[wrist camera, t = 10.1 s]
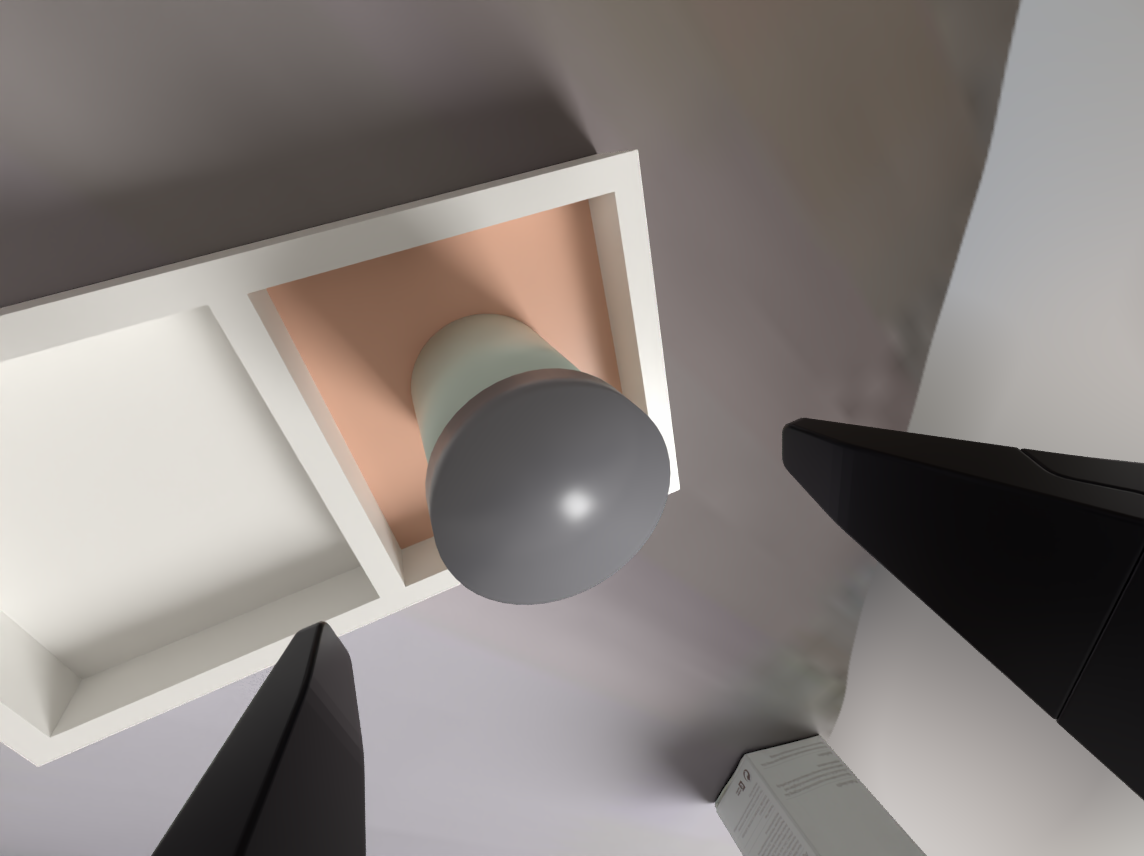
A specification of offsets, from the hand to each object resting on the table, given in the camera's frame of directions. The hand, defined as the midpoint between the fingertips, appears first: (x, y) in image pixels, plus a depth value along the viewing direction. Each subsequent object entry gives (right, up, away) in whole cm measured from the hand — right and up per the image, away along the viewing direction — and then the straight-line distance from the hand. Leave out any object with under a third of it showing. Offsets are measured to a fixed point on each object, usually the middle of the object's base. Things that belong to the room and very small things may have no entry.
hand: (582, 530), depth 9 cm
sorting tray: (-8, +2, +6) cm, 10 cm away
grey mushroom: (-3, +3, +7) cm, 8 cm away
